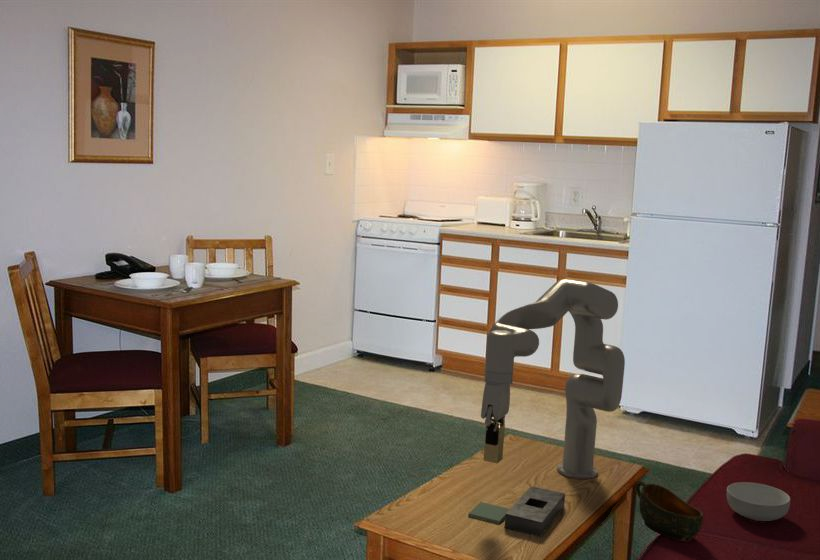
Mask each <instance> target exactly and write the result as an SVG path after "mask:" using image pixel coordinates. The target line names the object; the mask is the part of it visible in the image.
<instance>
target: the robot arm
mask: <svg viewBox="0 0 820 560" xmlns="http://www.w3.org/2000/svg"><path fill="white" fill-rule="evenodd" d="M618 301H619V300H618V297H617V295H616V293H614V292H612V291H610V290H609V289H606V288H604V287H602V286H600V285H597V284H595V283H592V282H588V281H583V280H582V281H581V280H577V279H576V280H575V279H567V278H565V279H559V280H557V281H556V282H555V283H554V284H553V285H552V286H551V287H549V288H548V289H547V290H546V291H545V292H544V293H542V295H541V296H540V297H539V298H538V299H537V300H536V301H534V302H533V303H528V304H524V305H522V306H519V307H518V308H514V309H512V310H509V311H507V312H505V313H504V314H503V315H502V316H500V317H499V319H497V320H496V321H495V323H494V324H493V325H492V326H491V328H490V329H489V331H488V334H487V337H486V349H485V350H486V352H485V365H484V366H485V367H484V379H483V380H484V382H485V384H484V388H483V394H482V402H481V412H480V417H481V419H483V420H484V425H485V431H486V441H485V440H484V444H485V443H486V444H490V445H495V446H496V445H497V440H498V431H497V425H498V423H503V424H505V423H506V421H505V420H506V419H505V418H506V415H508V413H509V412H510V410H509V409H510V405H511V404H510V402H511V401H510V400H511V385H512V384H513V378H514V364H515V357H518V358H519V357H523V358H524V357H530V356H532V355H534V354H535V353H536V352H537V351H538V349H539V345H540V338H539V335H538V334H537V333H536V332H534V331H533V330H540V329H546V328H550V327H554V326H555V325H556V324H558V322H560V320H561V319H562V318H563V317H564V316H565V315H566V314H567V313H568V312H569V314H570V315H571V317H572V319H573V321H574V327H575V328H574V329H575V331H574V342H573V352H572V353H573V354H572V355H573V356H572V362H573V365H574V367H576V368H577V369H579V370H581V371H584V372H588V373H592V374H596V375H601V376H602V377H597V376H594V375H589V374H585V373H575V374H572V375H570V376H569V377H568V378H567V380H566V382H565V386H564V387H565V388H564V392H565V401H566V414H565V415H566V417H565V427H564V428H565V429H564V440H563V441H564V442H563V452H562V453H563V454H562V462H560V463H558V464H557V468H556V469H557V471H558V473H559V474H560V475H562V476H563V475H564V476H565V477H568V478H573V479H579V480H582V479H584V480H586V479H587V480H588V479H593V478H595V477H597V476H598V473H599V472H598V471H599V470H598V469H597V468H596V467H595V466H594V461H595V460H594V458H595V448H596V447H595V446H596V435H597V427H598V425H597V424H598V420H597V419H598V418H597V415H596V411H595V410H599V411H603V412H609V413H611V412H612V413H613V412H615V411H616V410H617V409H618V407H619V406H620V405H621V400H622V396H623V395H622V394H623V387H624V378H625V377H624V375H625V365H626V363H625V361H626V360H625V359H626V358H625V354H624V353H623V350H622V349H621V348H620V347H618V346H615V345H612V344H608V343H605V342H604V340H603V339H604V338H603V337H604V323H603V321H602V320H610V319H612V318H613V317H614V316H615V315H616V314H617V312H618V310H619V309H618V308H619V302H618ZM491 421H492V422H495V423H494V424H493V423H492V422H491ZM505 425H506V424H505Z"/></svg>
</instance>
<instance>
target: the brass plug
mask: <svg viewBox="0 0 820 560" xmlns="http://www.w3.org/2000/svg"><path fill="white" fill-rule="evenodd" d="M491 422H492V421H491ZM492 423H493V424H494V423H495V422H492ZM505 427H506V424H503V423H498V425H497V431H498V440H497V445H496V446H495V445H490V444H486V443H485V441H486V430H485V431H484V432H485V433H484V434H485V435H484V446H483V447H484V448H483V461H485V462H489V463H493V464H498V463H500V462H501V461H502V460H503V458H504V457H503V455H504V442H505V441H504V440H505V429H506V428H505Z"/></svg>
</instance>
